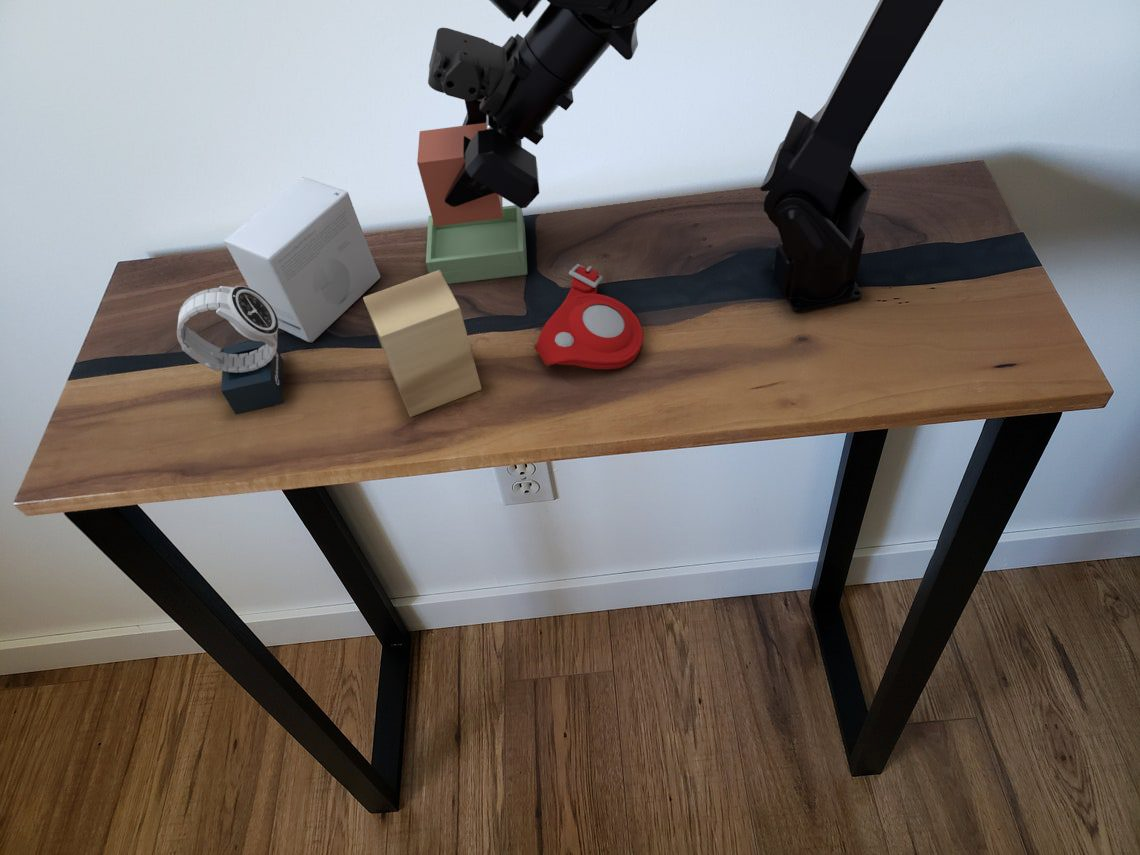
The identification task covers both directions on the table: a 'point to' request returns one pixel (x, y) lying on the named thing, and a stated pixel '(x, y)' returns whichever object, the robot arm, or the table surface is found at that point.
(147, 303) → the table surface
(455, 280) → the tray
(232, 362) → the watch
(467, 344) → the block
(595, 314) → the tracker holder
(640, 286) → the table surface
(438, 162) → the reddish brown rectangular block
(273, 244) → the cosmetics box
